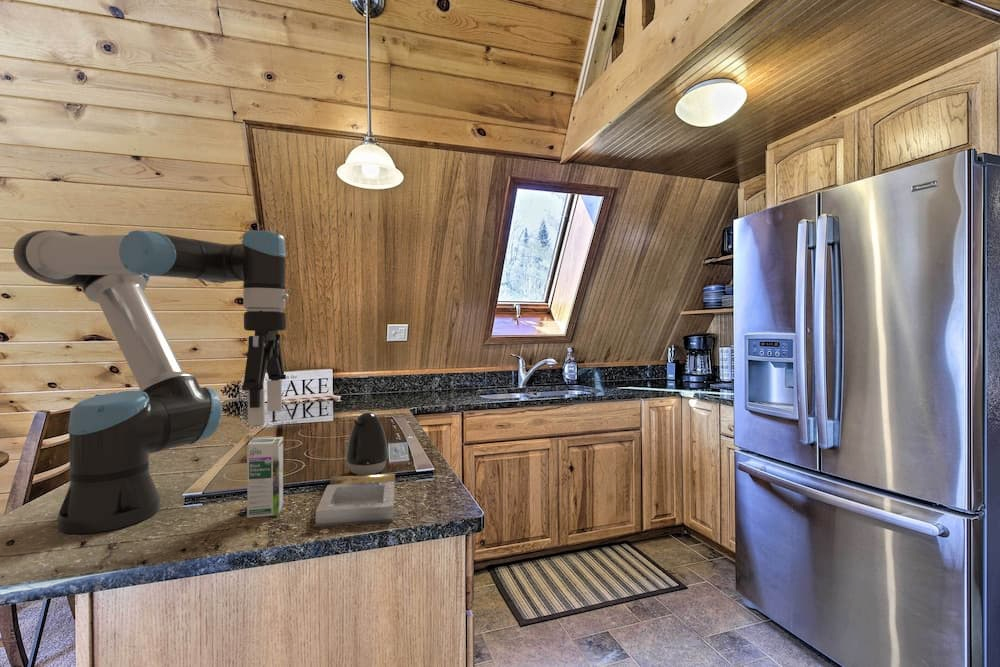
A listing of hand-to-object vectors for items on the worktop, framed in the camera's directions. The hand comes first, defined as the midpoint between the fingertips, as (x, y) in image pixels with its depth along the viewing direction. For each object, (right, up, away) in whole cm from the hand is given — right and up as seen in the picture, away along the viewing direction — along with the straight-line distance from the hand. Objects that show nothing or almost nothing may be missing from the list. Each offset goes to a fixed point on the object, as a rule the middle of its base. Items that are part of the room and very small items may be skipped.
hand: (266, 417), depth 95 cm
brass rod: (+16, -19, +14) cm, 28 cm away
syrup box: (0, -19, 0) cm, 19 cm away
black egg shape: (+13, -18, +24) cm, 33 cm away
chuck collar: (+18, -19, +2) cm, 26 cm away
